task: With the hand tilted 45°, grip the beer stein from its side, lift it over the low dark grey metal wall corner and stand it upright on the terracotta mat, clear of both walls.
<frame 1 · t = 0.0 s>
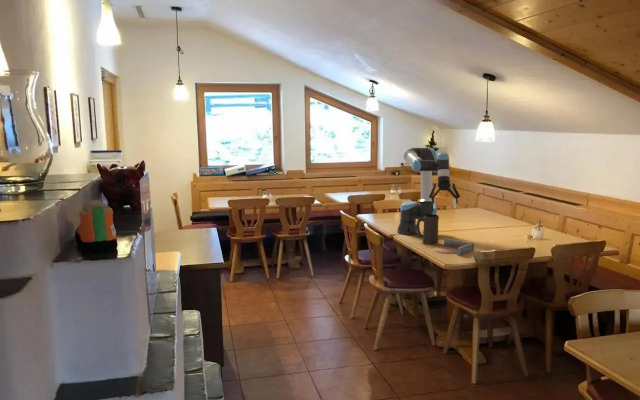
hand: (444, 208, 331), 28 cm above the table, tool tilted 20°, fingers open, 13 cm apart
terracotta mat: (445, 250, 334), on the table
wall corner: (445, 250, 334), on the table
beer stein: (426, 243, 354), on the table
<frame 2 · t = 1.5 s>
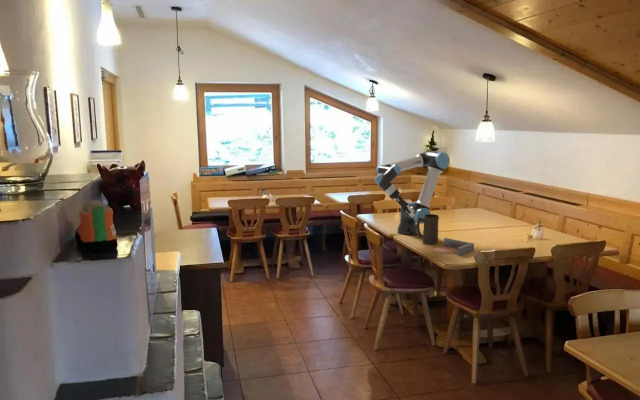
hand: (413, 214, 352), 20 cm above the table, tool tilted 45°, fingers open, 13 cm apart
nothing on the table moved.
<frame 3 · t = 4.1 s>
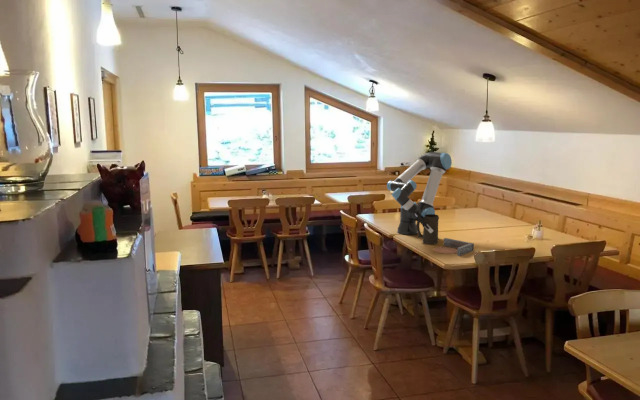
hand: (431, 230, 352), 9 cm above the table, tool tilted 45°, fingers open, 10 cm apart
beer stein: (426, 243, 354), on the table, touching gripper
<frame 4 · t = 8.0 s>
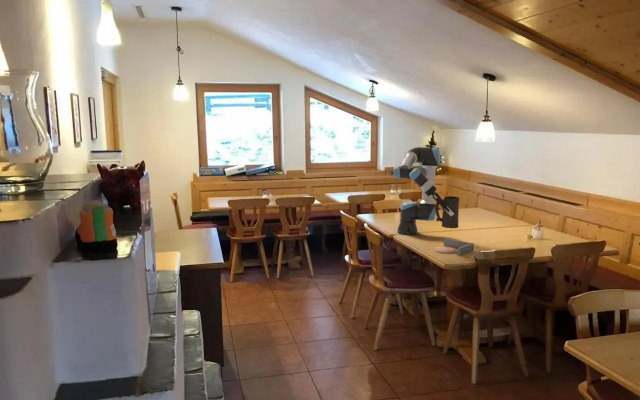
hand: (452, 213, 329), 25 cm above the table, tool tilted 45°, fingers closed on beer stein, 9 cm apart
beer stein: (446, 227, 331), point 16 cm above the table, touching gripper
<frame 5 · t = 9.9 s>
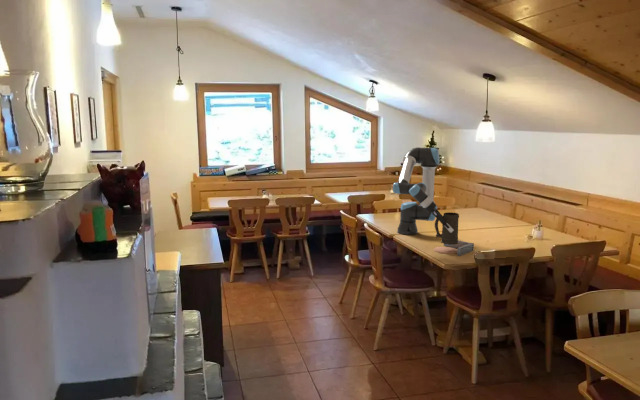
hand: (451, 229, 330), 14 cm above the table, tool tilted 45°, fingers closed on beer stein, 9 cm apart
beer stein: (445, 243, 332), point 5 cm above the table, touching gripper
when the fingers open (10 cm above the table, at t = 11.7 s): beer stein stays where it is, resting on terracotta mat.
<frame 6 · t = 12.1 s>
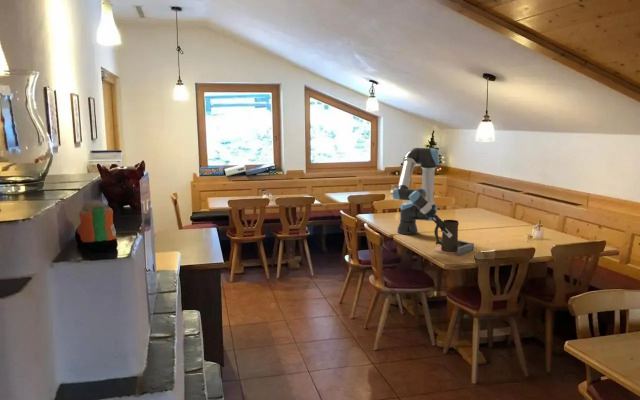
hand: (450, 234, 332), 11 cm above the table, tool tilted 45°, fingers open, 13 cm apart
beer stein: (445, 250, 333), resting on terracotta mat
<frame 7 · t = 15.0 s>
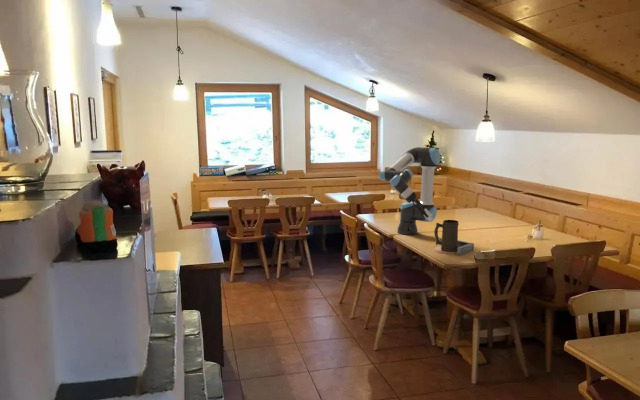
hand: (431, 218, 332), 21 cm above the table, tool tilted 45°, fingers open, 13 cm apart
nothing on the table moved.
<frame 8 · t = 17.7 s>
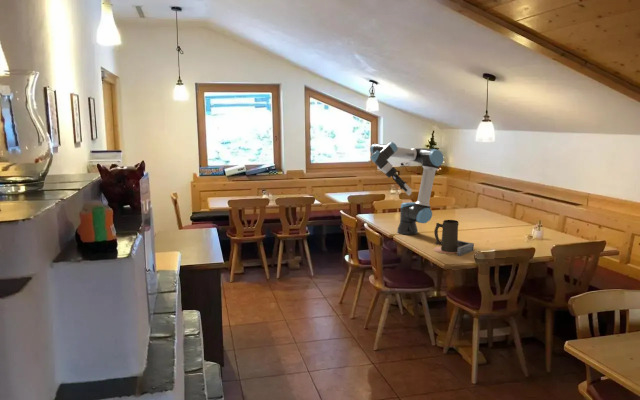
hand: (410, 193, 344), 36 cm above the table, tool tilted 45°, fingers open, 13 cm apart
nothing on the table moved.
at the end: beer stein inside the target area on the terracotta mat (0.5 cm from its centre), point 0.3 cm above the terracotta mat's base; beer stein tilted 0°; beer stein touching terracotta mat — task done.
